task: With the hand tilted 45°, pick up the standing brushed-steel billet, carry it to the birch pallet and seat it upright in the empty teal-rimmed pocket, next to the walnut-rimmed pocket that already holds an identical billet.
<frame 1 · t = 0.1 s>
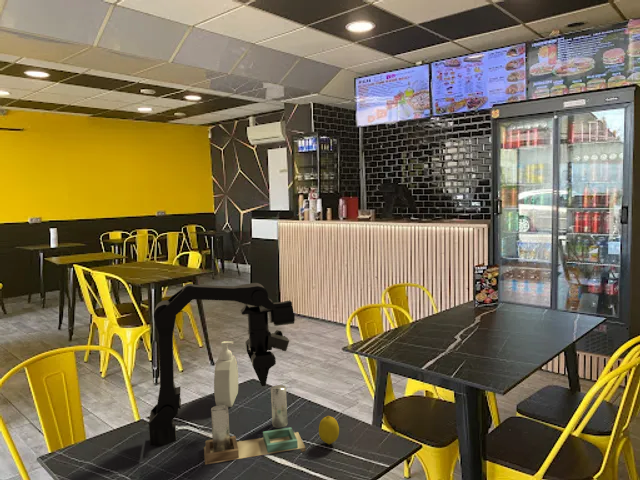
hand: (261, 380, 144), 15 cm above the table, tool pointing down, fingers open, 9 cm apart
soap bottle: (228, 400, 167), on the table
pallet: (254, 450, 133), on the table
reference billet: (221, 452, 131), point 1 cm above the table, touching pallet
billet: (280, 427, 146), on the table
lemon: (329, 444, 135), on the table
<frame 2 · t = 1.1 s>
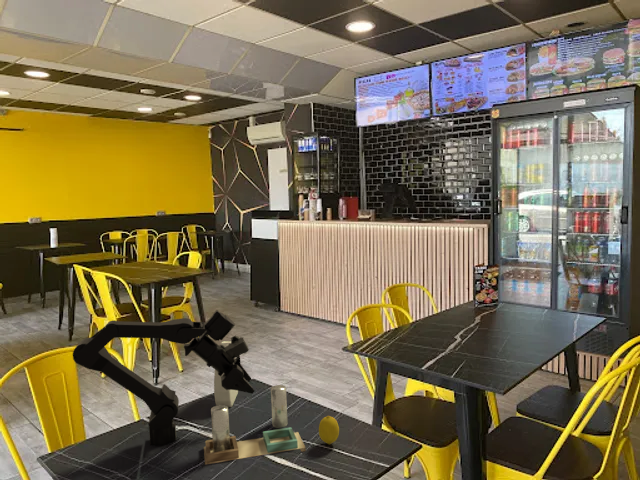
hand: (251, 385, 143), 14 cm above the table, tool tilted 45°, fingers open, 9 cm apart
nothing on the table moved.
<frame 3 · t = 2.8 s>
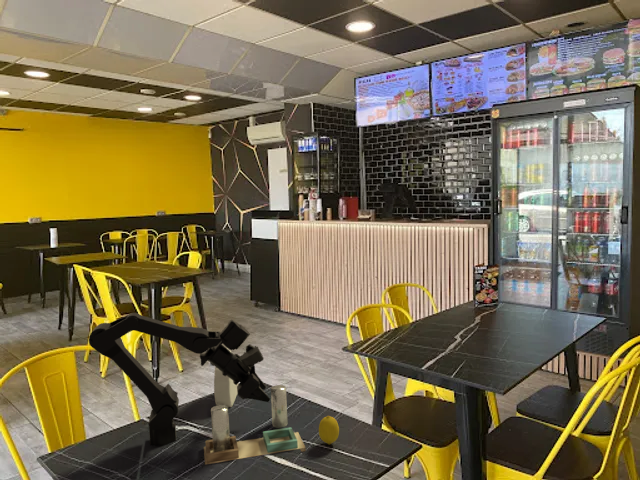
hand: (267, 394, 144), 11 cm above the table, tool tilted 45°, fingers open, 9 cm apart
nothing on the table moved.
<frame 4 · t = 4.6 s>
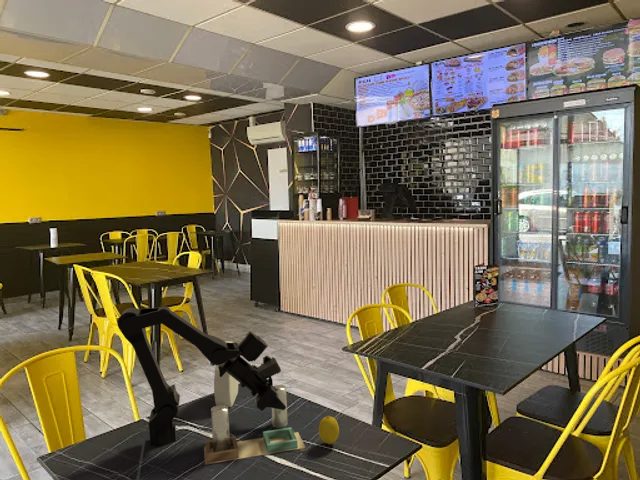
hand: (283, 405, 146), 7 cm above the table, tool tilted 45°, fingers closed on billet, 4 cm apart
billet: (280, 427, 146), on the table, touching gripper
everything else where it was.
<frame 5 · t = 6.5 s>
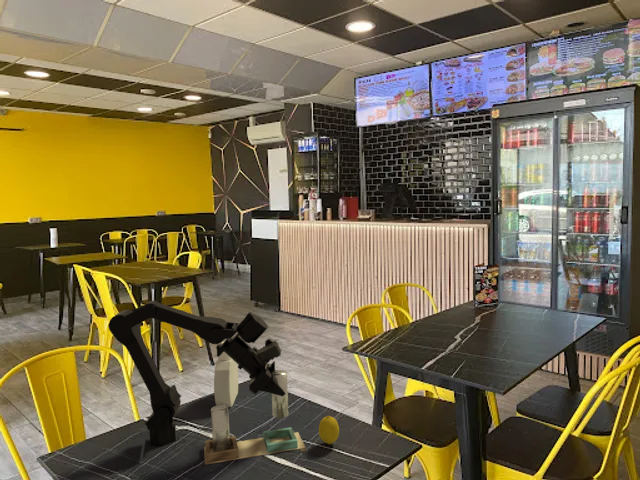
hand: (284, 391, 139), 13 cm above the table, tool tilted 45°, fingers closed on billet, 4 cm apart
billet: (280, 414, 139), point 7 cm above the table, touching gripper
everything else where it was.
when the fingers open (9 cm above the table, at t = 8.3 s): billet drops 1 cm, resting on pallet.
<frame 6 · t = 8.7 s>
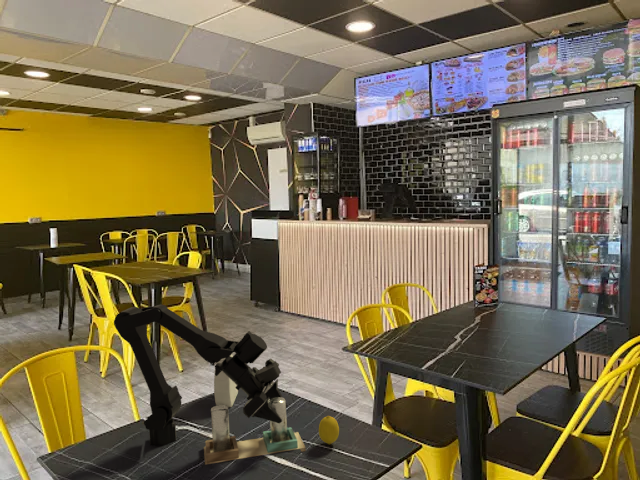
hand: (283, 414, 134), 9 cm above the table, tool tilted 45°, fingers open, 8 cm apart
billet: (279, 442, 135), point 1 cm above the table, touching pallet
everything else where it was.
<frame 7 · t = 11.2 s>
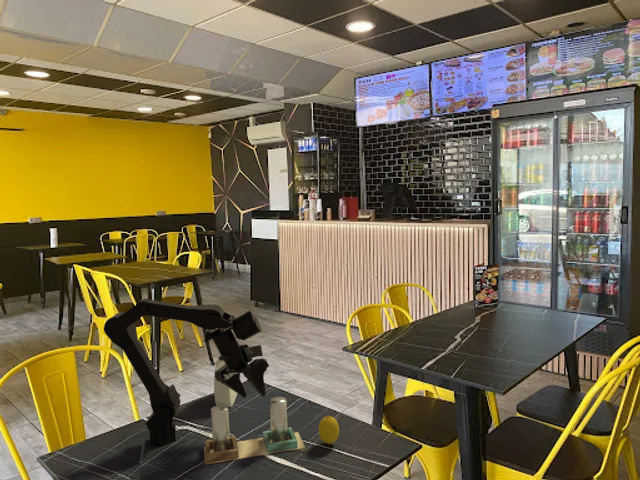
hand: (254, 396, 139), 12 cm above the table, tool tilted 25°, fingers open, 9 cm apart
nothing on the table moved.
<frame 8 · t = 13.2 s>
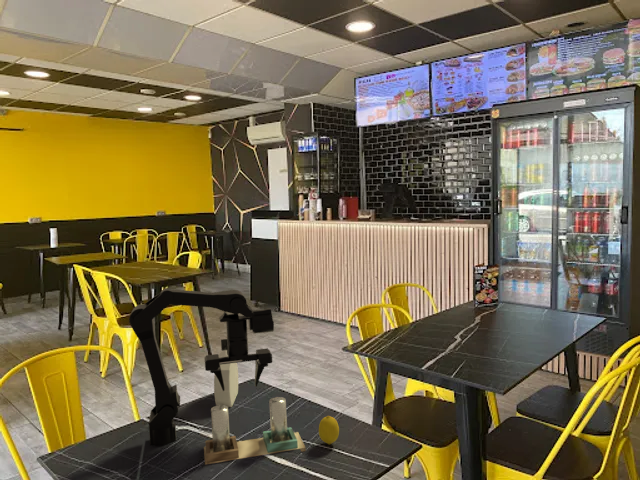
hand: (239, 388, 143), 13 cm above the table, tool pointing down, fingers open, 9 cm apart
nothing on the table moved.
at the end: billet 0.1 cm from the target spot on the pallet, point 1.0 cm above the pallet's base; billet tilted 1°; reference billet moved 0.0 cm from its start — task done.
